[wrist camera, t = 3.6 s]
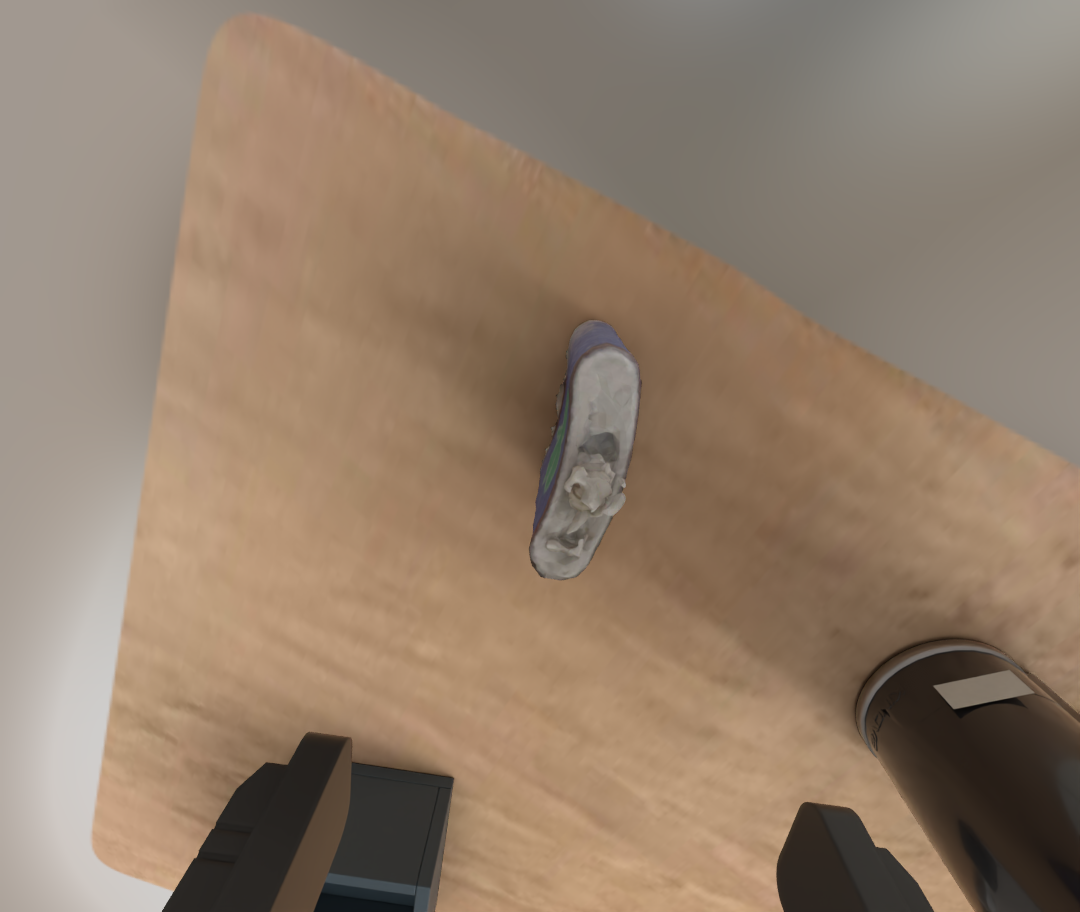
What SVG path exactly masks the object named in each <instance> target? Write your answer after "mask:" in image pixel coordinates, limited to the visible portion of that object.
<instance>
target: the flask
mask: <svg viewBox="0 0 1080 912" xmlns="http://www.w3.org/2000/svg"><path fill="white" fill-rule="evenodd" d="M566 353H567V355H566V359H567V370H566V374H565V376H566V377H565V378H564V379H563V381H564V382H563V384H561V385H560V391H559V393H558V394H557V395H556V396H557V402H556V410H558V411H557V416H558V420H557V423H556V426H554V427H551V429H552V441H551V444H550V445H549V447H548V448H547V449H545V450H546V453H545V456H544V459H543V461H542V467H541V469H540V482H539V489H538V495H537V498H536V512H535V519H534V524H533V535H532V538H531V542H530V547H529V553H530V560H531V563H532V566H533V567H534V568H535V570H536V571H537V572H538V574H539V575H540V577H543V578H550V579H556V580H566V579H570V578H574V577H577V576H578V575H579V574H580V573H581V572H582V571H583V570H584V569H585V568H586V567H587V566H588V564H589V563H590V561H591V559H592V557H593V556H594V553H595V551H596V549H597V547H598V546H599V544H600V542H601V540H602V537H603V535H604V533H605V531H606V529H607V527H608V526H609V524H610V522H611V520H612V518H613V515H614V514H616V513H617V512H618V511H619V510H620V508H621V507H622V506H623V504H624V503H625V500H626V498H625V495H624V493H622V491H623V487H624V488H625V486H626V483H625V479H626V475H627V471H628V468H629V464H630V461H631V458H632V451H633V443H634V440H635V435H636V428H637V421H638V414H639V405H640V395H641V385H642V381H641V379H640V369H639V364H638V362H637V361H636V359H635V358H634V356H633V355H632V354H631V353H630V352H629V351H628V350H627V348H626V347H625V346H624V344H623V342H622V341H621V339H620V338H619V337H618V336H617V334H616V332H615V330H614V328H613V327H612V326H611V325H609V324H607V323H606V322H603V321H600V320H588V321H586V322H584V323H582V324H580V325H579V326H578V327H577V328H576V329H575V330H574V332H573V334H572V336H571V338H570V342H569V348H568V350H567V351H566Z"/></svg>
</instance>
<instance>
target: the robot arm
mask: <svg viewBox="0 0 1080 912" xmlns="http://www.w3.org/2000/svg"><path fill="white" fill-rule="evenodd" d="M856 723H857V727H858V730H859V732H860V735H861V737H862V738H863V740H864V741H865V743H866V745H867V746H868V748H869V749H870V751H871V752H872V753H873V755H874V756H875V757H876V758H877V759H878V760H879V762H880V763H881V765H882V766H883V768H884V769H885V771H886V773H887V774H888V776H889V777H890V779H891V780H892V782H893V784H894V785H895V787H896V788H897V790H898V792H899V793H900V795H901V797H902V798H903V800H904V801H905V803H906V805H907V806H908V808H909V809H910V811H911V812H912V814H913V816H914V817H915V819H916V820H917V822H918V823H919V825H920V827H921V828H922V830H923V831H924V833H925V834H926V836H927V838H928V839H929V841H930V842H931V844H932V845H933V847H934V848H935V850H936V852H937V853H938V855H939V856H940V858H941V859H942V861H943V863H944V864H945V866H946V867H947V869H948V870H949V872H950V874H951V875H952V877H953V878H954V880H955V881H956V883H957V885H958V886H959V888H960V889H961V891H962V892H963V894H964V895H965V897H966V899H967V900H968V902H969V903H970V905H971V906H972V908H973V910H974V911H975V912H1080V714H1079V713H1077V712H1076V711H1075V710H1074V709H1073V708H1072V707H1071V706H1069V705H1068V704H1067V703H1066V702H1065V701H1064V700H1062V699H1061V698H1060V697H1059V696H1058V695H1057V694H1056V693H1054V692H1053V691H1052V690H1051V689H1050V688H1049V687H1048V686H1046V685H1045V684H1044V683H1043V682H1042V681H1041V680H1039V679H1038V678H1037V677H1036V676H1035V675H1033V674H1027V673H1025V672H1024V671H1023V670H1022V669H1021V668H1020V667H1019V666H1018V665H1017V664H1016V663H1015V662H1013V661H1012V660H1011V659H1010V658H1009V657H1008V656H1007V655H1006V654H1004V653H1003V652H1001V651H1000V650H998V649H996V648H994V647H992V646H990V645H987V644H984V643H981V642H977V641H972V640H963V639H949V640H939V641H934V642H929V643H925V644H922V645H919V646H916V647H913V648H911V649H908V650H906V651H904V652H902V653H900V654H898V655H897V656H895V657H893V658H892V659H890V660H889V661H888V662H886V663H885V664H884V665H882V666H881V667H880V668H879V669H878V670H877V671H876V672H875V673H874V674H873V675H872V676H871V678H870V679H869V680H868V681H867V683H866V685H865V686H864V688H863V690H862V692H861V694H860V696H859V699H858V702H857V707H856ZM351 765H352V739H351V738H350V737H343V736H336V735H329V734H321V733H314V732H308V733H307V734H306V735H305V736H304V737H303V739H302V740H301V742H300V744H299V746H298V747H297V749H296V751H295V753H294V755H293V757H292V759H291V760H290V762H289V764H288V765H282V764H275V763H267V762H266V763H265V764H264V765H263V766H262V767H261V768H260V769H258V770H257V771H256V772H255V773H254V774H253V775H252V776H251V777H249V778H248V779H247V780H246V781H245V782H244V783H243V784H242V785H240V786H239V787H238V788H237V789H236V791H235V793H234V794H233V796H232V798H231V799H230V801H229V802H228V804H227V806H226V807H225V809H224V811H223V812H222V814H221V815H220V817H219V819H218V820H217V822H216V826H215V828H214V829H212V830H211V832H210V833H209V835H208V837H207V838H206V840H205V842H204V843H203V845H202V847H201V848H200V850H199V853H198V856H197V858H194V860H193V861H192V863H191V865H190V866H189V868H188V869H187V871H186V873H185V874H184V876H183V878H182V879H181V881H180V883H179V884H178V886H177V887H176V889H175V891H174V892H173V894H172V896H171V897H170V899H169V901H168V902H167V904H166V905H165V907H164V909H163V910H162V912H314V909H315V906H316V904H317V901H318V898H319V896H320V893H321V891H322V888H323V885H324V883H325V880H326V877H327V875H328V872H329V869H330V867H331V864H332V861H333V859H334V856H335V853H336V851H337V848H338V845H339V843H340V840H341V837H342V834H343V831H344V827H345V823H346V819H347V815H348V810H349V804H350V789H351ZM777 887H778V893H779V897H780V901H781V904H782V907H783V910H784V912H934V911H933V909H932V907H931V906H930V904H929V902H928V900H927V899H926V897H925V895H924V894H923V892H922V890H921V888H920V887H919V885H918V883H917V882H916V881H915V880H914V879H913V878H912V876H911V875H910V874H909V873H908V872H907V871H906V870H905V869H904V868H903V866H902V865H901V864H900V863H899V862H898V861H897V860H896V859H895V858H894V856H893V855H892V854H891V853H890V852H889V851H888V850H887V849H885V848H878V847H875V845H874V843H873V841H872V839H871V837H870V836H869V834H868V832H867V830H866V828H865V826H864V825H863V823H862V821H861V819H860V818H859V816H858V815H857V814H856V813H855V812H854V811H853V810H852V809H850V808H847V807H840V806H833V805H826V804H818V803H811V802H805V803H803V804H802V805H801V806H800V808H799V810H798V813H797V815H796V818H795V820H794V822H793V825H792V827H791V830H790V832H789V834H788V837H787V839H786V841H785V844H784V846H783V849H782V851H781V853H780V856H779V859H778V863H777Z"/></svg>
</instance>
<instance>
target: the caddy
mask: <svg viewBox="0 0 1080 912" xmlns="http://www.w3.org/2000/svg"><path fill="white" fill-rule="evenodd" d="M292 757H293V756H292ZM291 759H292V758H291ZM453 782H454V778H450V777H443V776H436V775H430V774H423V773H417V772H410V771H403V770H397V769H390V768H384V767H377V766H370V765H364V764H357V763H352V765H351V789H350V804H349V810H348V815H347V819H346V823H345V827H344V831H343V834H342V837H341V840H340V843H339V845H338V848H337V851H336V853H335V856H334V859H333V861H332V864H331V867H330V869H329V872H328V875H327V877H326V880H325V883H324V885H323V888H322V891H321V893H320V896H319V898H318V901H317V904H316V906H315V909H314V912H435V908H436V903H437V896H438V889H439V881H440V874H441V867H442V860H443V853H444V846H445V839H446V832H447V825H448V817H449V810H450V803H451V796H452V789H453Z"/></svg>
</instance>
